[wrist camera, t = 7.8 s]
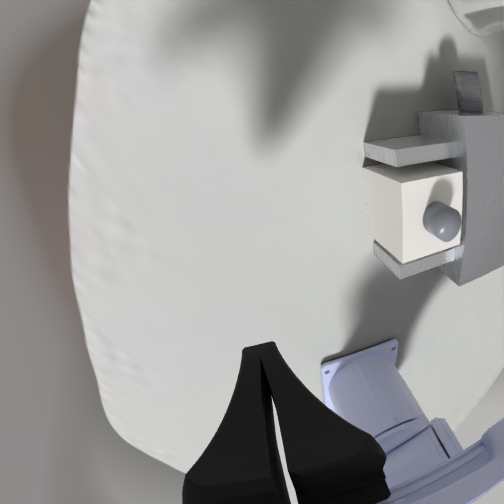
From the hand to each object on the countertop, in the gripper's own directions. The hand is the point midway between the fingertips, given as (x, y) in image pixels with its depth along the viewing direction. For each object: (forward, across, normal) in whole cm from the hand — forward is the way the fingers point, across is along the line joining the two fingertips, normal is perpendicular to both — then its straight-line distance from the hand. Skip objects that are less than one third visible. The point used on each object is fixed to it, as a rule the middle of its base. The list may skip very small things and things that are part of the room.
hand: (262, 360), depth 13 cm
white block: (+10, -12, -2) cm, 15 cm away
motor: (+9, -16, -4) cm, 19 cm away
